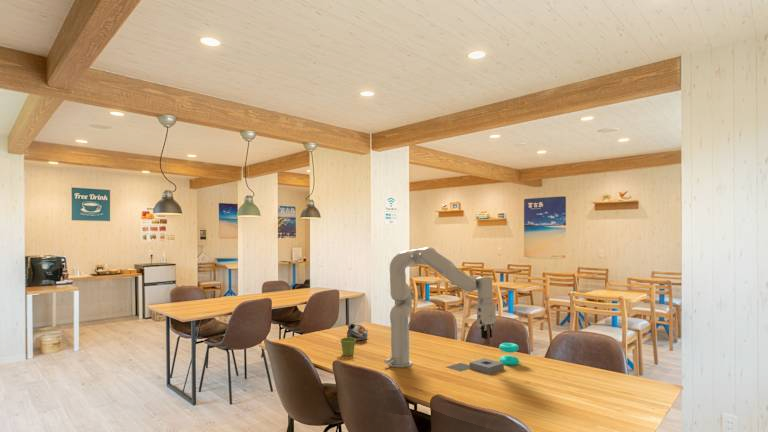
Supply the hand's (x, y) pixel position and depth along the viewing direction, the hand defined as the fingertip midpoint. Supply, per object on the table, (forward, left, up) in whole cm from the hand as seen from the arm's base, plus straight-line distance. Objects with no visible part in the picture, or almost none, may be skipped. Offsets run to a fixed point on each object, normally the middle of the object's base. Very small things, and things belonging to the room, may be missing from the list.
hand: (486, 337), depth 223 cm
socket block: (0, 0, -16) cm, 16 cm away
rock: (-9, +98, -16) cm, 100 cm away
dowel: (0, 0, -3) cm, 3 cm away
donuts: (+18, -1, -16) cm, 24 cm away
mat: (-7, +11, -16) cm, 21 cm away
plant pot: (-35, +71, -16) cm, 81 cm away
